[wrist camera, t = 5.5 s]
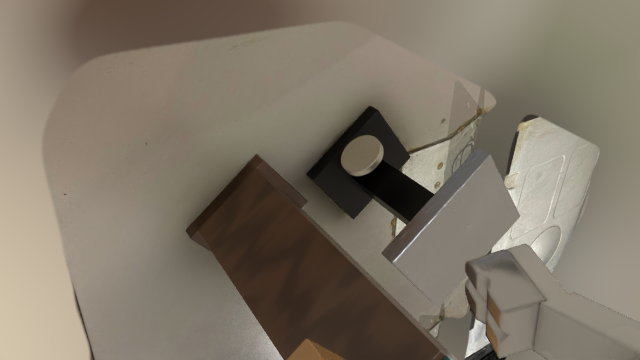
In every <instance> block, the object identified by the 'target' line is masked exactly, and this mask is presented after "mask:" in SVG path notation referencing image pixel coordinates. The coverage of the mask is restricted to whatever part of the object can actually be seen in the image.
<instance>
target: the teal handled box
mask: <svg viewBox="0 0 640 360" xmlns="http://www.w3.org/2000/svg"><path fill="white" fill-rule="evenodd" d="M287 360H346V359H344V358H342V357H340V356H339V355H337V354H335V353H333V352H331V351H329V350H327V349H326V348H324V347H322V346H320V345H318V344H316V343H315V342H313V341H311V340H309V339H305V340H304V341H303V342H302V344H301V345H300V346H299V347H298V348H297V349H296V350H295V351H294V352H293V353H292V355H291V356H290V357H289V358H288V359H287ZM443 360H452V359H450V358H449V357H448V356H446V357H445V358H444V359H443Z"/></svg>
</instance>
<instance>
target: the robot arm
mask: <svg viewBox="0 0 640 360" xmlns="http://www.w3.org/2000/svg"><path fill="white" fill-rule="evenodd" d="M465 272H466V274H467V276H468V277H469V279H468V280H467V281H466V283H465V292H466V296H467V300H468V303H469V305H470V308H471V310H472V312H473V314H474V315H475V317H476V319H477V320H478V321H480V322H482V323H484V324H486V336H487V338H488V340H489V342H490V343H491V345H492V347H493V348H494V350H495V352H496V353H497V355H498V357H499V358H502V357H506V356H510V355H513V354H517V353H520V352H523V351H527V350H531V349H534V351H535V352H536V353H538V354H539V355H541V356H542V357H544V358H545V359H547V360H640V322H638V321H636V320H634V319H632V318H629V317H627V316H625V315H623V314H621V313H619V312H616V311H614V310H612V309H610V308H608V307H606V306H603V305H601V304H599V303H597V302H595V301H592V300H590V299H588V298H586V297H584V296H582V295H580V294H577V293H575V292H573V293H569V294H568V292H567V291H566V290H565V289H564V288H563V286H562V285H561V284H560V283H559V281H558V280H557V279H556V278H555V276H554V275H553V274H552V273H551V272H550V270H549V269H548V268H547V267H546V265H545V264H544V263H543V262H542V260H541V259H540V258H539V257H538V256H537V254H536V253H535V252H534V251H533V249H532V248H531V247H530V246H529V245H527V244H522V245H518V246H515V247H512V248H509V249H506V250H501V251H497V252H494V253H491V254H488V255H485V256H482V257H479V258H475V259H472V260H469V261H467V262H466V264H465Z"/></svg>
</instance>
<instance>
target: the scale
mask: <svg viewBox="0 0 640 360" xmlns="http://www.w3.org/2000/svg"><path fill="white" fill-rule="evenodd" d="M409 158H410V155H409V154H408V152H407V151H406V149H405V148H404V147H403V145H402V144H401V142H400V141H399V139H398V138H397V137H396V135H395V134H394V132H393V131H392V129H391V128H390V127H389V125H388V124H387V122H386V121H385V119H384V118H383V117H382V115H381V114H380V112H379V111H378V110H376V109H375V108H373V107H371V106H369V107H368V108H367V110H366V111H365V112H364V113H363V114H362V115H361V116H360V117H359V118H358V119H357V120H356V121H355V122H354V124H353V125H352V126H351V127H350V128H349V129H348V130H347V131H346V132H345V133H344V134H343V135H342V137H341V138H340V139H339V140H338V141H337V142H336V143H335V144H334V145H333V146H332V147H331V148H330V149H329V151H328V152H327V153H326V154H325V155H324V156H323V157H322V158H321V159H320V160H319V161H318V162H317V164H316V165H315V166H314V167H313V168H312V169H311V170H310V171H309V172H308V173H307V175H308V176H309V177H310V178H311V179H312V180H313V181H314V182H315V183H316V184H317V185H318V186H319V187H320V188H321V189H322V190H323V191H324V192H325V193H326V194H327V195H328V196H329V197H330V198H331V199H332V200H333V201H334V202H335V203H336V204H337V205H338V206H339V207H340V208H342V209H343V210H344V211H345V212H346V213H347V214H348V215H349V216H350V217H351V218H352V219H354V218H355V217H356V216H357V215H358V214H359V213H360V212H361V211H362V210H363V209H364V207H365V206H366V205H367V204H368V203H369V202H370V201H371V200H372V199H374V200H375V201H377V202H378V203H379V204H380V205H382V206H383V207H384V208H386V209H387V210H388V211H389V212H391V213H392V214H393V215H395V216H396V217H397V218H398V219H400V220H401V221H402V222H404V223H405V224H406V226H405V227H404V229H403V230H402V231H401V232H400V233H399V234H398V235H397V236H396V237H395V238H394V240H393V241H392V242H391V243H390V244H389V245H388V246H387V247H386V248H385V250H384V251H383V252H382V255H383V256H384V257H385V258H386V259H387V260H389V261H390V262H391V263H392V264H393V265H394V266H395V267H396V268H397V269H398V270H399V271H400V272H401V273H402V274H403V275H404V276H405V277H406V278H407V279H408V280H409V281H410V282H411V283H412V284H413V285H414V286H416V287H417V288H418V289H419V290H420V291H421V292H422V293H423V294H424V295H425V296H426V297H427V298H428V299H429V300H430V301H431V302H432V303H434V304H435V305H436V306H437V307H440V305H441V304H442V303H443V302H444V301H445V300H446V299H447V298H448V297H449V295H450V294H451V293H452V292H453V291H454V290H455V289H456V288H457V286H458V285H459V284H460V283H461V282H462V281H463V280H464V279H465V278H466V276H467V274H466V272H465V264H466V262H467V261H469V260H472V259H475V258H479V257H482V256H485V255H486V254H487V253H488V252H489V251H490V250H491V249H492V247H493V246H494V245H495V244H496V243H497V242H498V241H499V240H500V238H501V237H502V236H503V235H504V234H505V233H506V232H507V231H508V230H509V228H510V227H511V226H512V225H513V224H514V223H515V222H516V221H517V219H518V218H519V217H520V215H519V213H518V211H517V209H516V207H515V204H514V202H513V200H512V198H511V196H510V194H509V192H508V190H507V188H506V186H505V184H504V182H503V180H502V178H501V176H500V174H499V172H498V170H497V167H496V166H495V163H494V161H493V159H492V157H491V155H490V154H488V153H486V152H484V151H482V150H480V149H478V148H476V150H475V151H474V152H473V153H472V154H471V155H470V156H469V157H468V158H467V159H466V160H465V161H464V163H463V164H462V165H461V166H460V167H459V168H458V169H457V170H456V171H455V172H454V174H453V175H452V176H451V177H450V178H449V179H448V180H447V181H446V182H445V183H444V185H443V186H442V187H441V188H440V189H439V190H438V191H437V192H436V193H435V194H433V193H432V192H430V191H429V190H427V189H426V188H424V187H423V186H421V185H420V184H418V183H417V182H415V181H414V180H412V179H411V178H409V177H408V176H406V175H405V174H403V173H402V172H400V171H399V169H400V168H401V167H402V166H403V165H404V164H405V163H406V162H407V161H408V159H409Z"/></svg>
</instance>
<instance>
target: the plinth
mask: <svg viewBox="0 0 640 360" xmlns="http://www.w3.org/2000/svg"><path fill="white" fill-rule="evenodd" d="M307 202H308V201H307V200H306V199H305V198H304V197H303V196H302V195H301V194H300V193H299V192H298V191H296V190H295V189H294V188H293V187H292V186H291V185H290V184H289V183H288V182H287V181H285V180H284V179H283V178H282V177H281V176H280V175H279V174H278V173H277V172H276V171H275V170H273V169H272V168H271V167H270V166H269V165H268V164H267V163H266V162H265V161H264V160H263V159H261V158H260V157H259V156H258V155H256V156H255V157H254V158H253V159H252V160H251V161H250V162H249V163H248V164H247V166H246V167H245V168H244V169H243V170H242V171H241V172H240V173H239V174H238V175H237V176H236V177H235V178H234V179H233V181H232V182H231V183H230V184H229V185H228V186H227V187H226V188H225V189H224V190H223V191H222V192H221V193H220V194H219V196H218V197H217V198H216V199H215V200H214V201H213V202H212V203H211V204H210V205H209V206H208V207H207V208H206V209H205V210H204V212H203V213H202V214H201V215H200V216H199V217H198V218H197V219H196V220H195V221H194V222H193V223H192V224H191V225H190V227H189V228H188V229H187V230H186V232H187V234H188V235H189V237H190V238H191V239H192V240H194V241H195V242H197V243H198V244H200V245H202V246H203V247H205V248H207V249H208V250H210V251H211V252H213V254H214V255H215V257H216V258H217V260H218V261H219V263H220V264H221V266H222V267H223V269H224V270H225V272H226V273H227V275H228V277H229V278H230V280H231V281H232V283H233V284H234V286H235V287H236V289H237V290H238V292H239V293H240V295H241V296H242V298H243V299H244V301H245V302H246V304H247V305H248V307H249V308H250V310H251V311H252V313H253V314H254V316H255V317H256V319H257V320H258V322H259V323H260V325H261V326H262V328H263V329H264V331H265V332H266V334H267V335H268V337H269V338H270V340H271V341H272V343H273V344H274V346H275V347H276V349H277V350H278V352H279V353H280V355H281V356H282V358H283V359H284V360H287V359H288V358H289V357H290V356H291V355H292V353H293V352H294V351H295V350H296V349H297V348H298V347H299V346H300V345H301V344H302V342H303V341H304V340H305V339H309V340H311V341H313V342H315V343H316V344H318V345H320V346H322V347H324V348H326V349H327V350H329V351H331V352H333V353H335V354H337V355H339V356H340V357H342V358H344V359H346V360H443V359H444V358H445V357H446V356H448V357H449V358H450V359H452V360H457V359H456V358H455V357H454V356H453V355H452V354H451V353H450V352H449V351H448V350H447V349H446V348H445V347H443V345H441V344H440V343H439V342H438V341H437V340H436V339H435V338H434V337H433V336H432V335H431V334H430V333H429V332H428V331H427V330H426V329H425V328H424V327H423V326H422V325H421V324H420V323H419V322H418V321H417V320H416V319H415V318H414V317H413V316H412V315H411V314H410V313H409V312H408V311H407V310H406V309H405V308H404V307H403V306H402V305H400V304H399V303H398V302H397V301H396V300H395V299H394V298H393V297H392V296H391V295H390V294H389V293H388V292H387V291H386V290H385V289H384V288H383V287H382V286H381V285H380V284H379V283H378V282H377V281H376V280H375V279H374V278H373V277H372V276H371V275H370V274H369V273H368V272H367V271H366V270H365V269H364V268H362V267H361V266H360V265H359V264H358V263H357V262H356V261H355V260H354V259H353V258H352V257H351V256H350V255H349V254H348V253H347V252H346V251H345V250H344V249H343V248H342V247H341V246H340V245H339V244H338V243H337V242H336V241H335V240H334V239H333V238H332V237H331V236H330V235H329V234H328V233H327V232H326V231H324V230H323V229H322V228H321V227H320V226H319V225H318V224H317V223H316V222H315V221H314V220H313V219H312V218H311V217H310V216H309V215H308V214H307V213H306V212H305V211H304V210H303V209H302V207H303V206H304V205H305V204H306V203H307Z"/></svg>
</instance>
